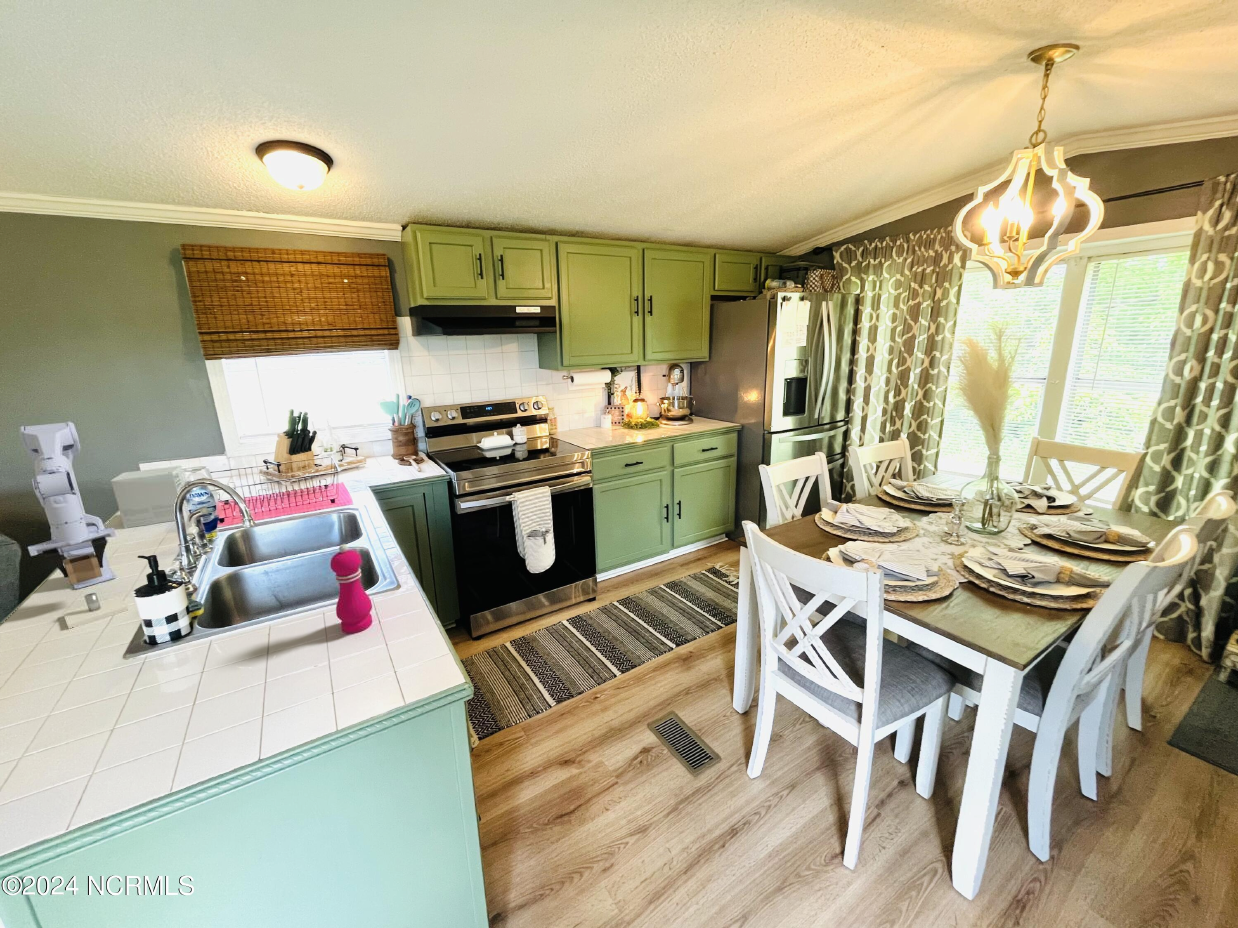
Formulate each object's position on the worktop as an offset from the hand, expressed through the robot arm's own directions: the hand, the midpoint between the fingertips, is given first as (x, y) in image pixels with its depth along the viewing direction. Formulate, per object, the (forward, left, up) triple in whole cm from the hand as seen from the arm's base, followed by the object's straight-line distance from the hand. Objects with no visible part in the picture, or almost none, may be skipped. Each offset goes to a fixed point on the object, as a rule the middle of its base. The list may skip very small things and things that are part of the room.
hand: (83, 571), depth 124 cm
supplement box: (-67, +25, -9) cm, 72 cm away
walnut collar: (0, 0, -2) cm, 2 cm away
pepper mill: (+67, +35, -9) cm, 76 cm away
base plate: (+9, -1, -8) cm, 12 cm away
